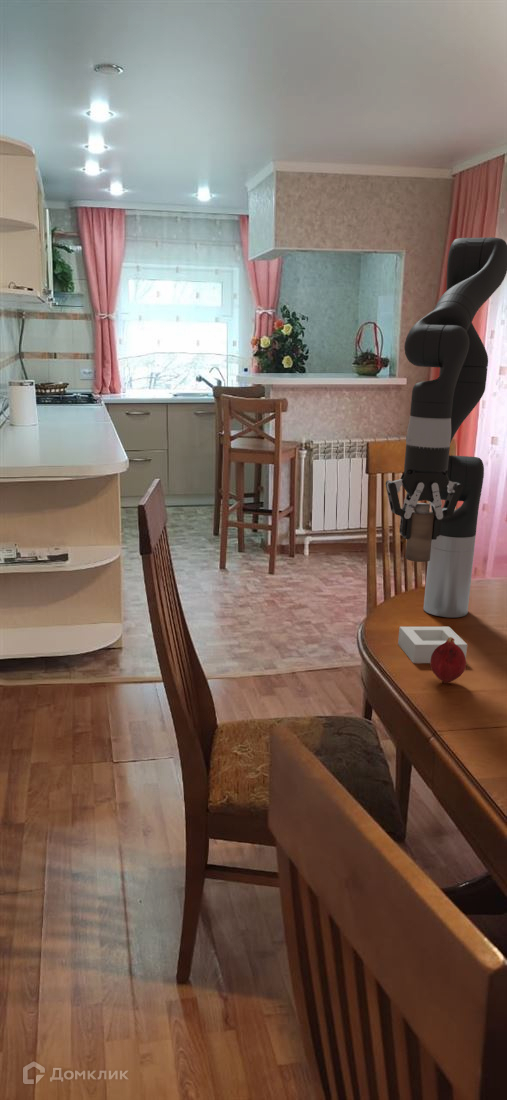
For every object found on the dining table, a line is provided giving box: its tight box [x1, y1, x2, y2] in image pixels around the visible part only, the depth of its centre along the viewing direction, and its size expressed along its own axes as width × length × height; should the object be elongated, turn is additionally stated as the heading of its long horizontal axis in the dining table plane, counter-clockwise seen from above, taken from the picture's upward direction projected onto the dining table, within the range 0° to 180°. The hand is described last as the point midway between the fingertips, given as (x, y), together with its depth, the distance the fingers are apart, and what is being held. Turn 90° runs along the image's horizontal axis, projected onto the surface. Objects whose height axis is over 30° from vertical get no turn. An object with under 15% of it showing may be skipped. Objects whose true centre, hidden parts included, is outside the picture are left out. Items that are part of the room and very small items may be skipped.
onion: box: [430, 637, 467, 684], centre depth 140 cm, size 6×6×8 cm
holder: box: [397, 626, 468, 664], centre depth 154 cm, size 10×10×4 cm
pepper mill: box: [404, 502, 434, 563], centre depth 150 cm, size 4×4×10 cm
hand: (419, 538), depth 151 cm, fingers closed on pepper mill, 4 cm apart
